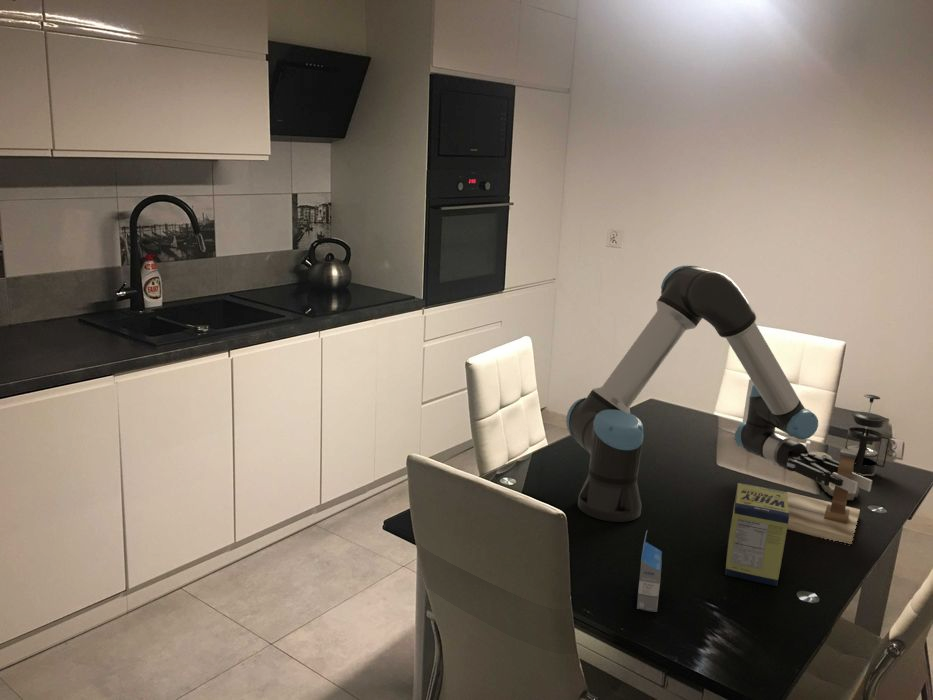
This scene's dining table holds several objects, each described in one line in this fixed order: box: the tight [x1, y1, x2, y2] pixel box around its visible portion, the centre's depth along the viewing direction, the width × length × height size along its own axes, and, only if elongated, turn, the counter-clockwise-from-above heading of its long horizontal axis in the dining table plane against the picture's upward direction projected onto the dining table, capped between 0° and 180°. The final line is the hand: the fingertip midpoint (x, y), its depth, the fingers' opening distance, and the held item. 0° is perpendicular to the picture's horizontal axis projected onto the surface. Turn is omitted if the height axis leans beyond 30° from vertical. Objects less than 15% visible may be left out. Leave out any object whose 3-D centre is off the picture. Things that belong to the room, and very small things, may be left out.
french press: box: [844, 394, 891, 474], centre depth 231 cm, size 12×9×23 cm
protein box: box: [724, 481, 789, 587], centre depth 169 cm, size 10×16×16 cm
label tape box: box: [636, 529, 663, 613], centre depth 152 cm, size 9×4×12 cm, turn 164°
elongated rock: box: [809, 451, 860, 501], centre depth 225 cm, size 35×5×10 cm
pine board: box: [787, 491, 861, 545], centre depth 197 cm, size 20×21×2 cm
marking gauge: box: [824, 447, 857, 524], centre depth 192 cm, size 5×5×17 cm
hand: (862, 486), depth 187 cm, fingers closed on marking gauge, 4 cm apart
